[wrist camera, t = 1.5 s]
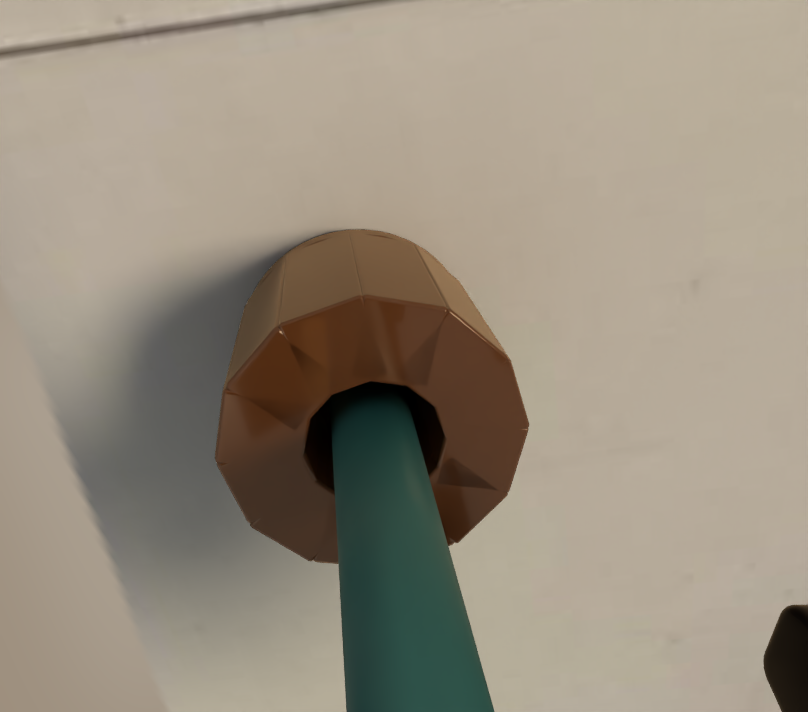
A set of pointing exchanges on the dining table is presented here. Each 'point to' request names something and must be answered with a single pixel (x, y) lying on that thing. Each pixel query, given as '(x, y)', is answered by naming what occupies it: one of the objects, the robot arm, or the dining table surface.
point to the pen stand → (357, 364)
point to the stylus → (396, 566)
